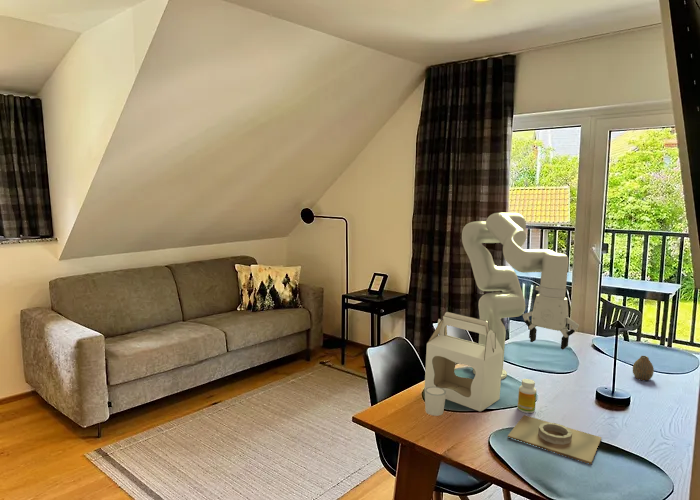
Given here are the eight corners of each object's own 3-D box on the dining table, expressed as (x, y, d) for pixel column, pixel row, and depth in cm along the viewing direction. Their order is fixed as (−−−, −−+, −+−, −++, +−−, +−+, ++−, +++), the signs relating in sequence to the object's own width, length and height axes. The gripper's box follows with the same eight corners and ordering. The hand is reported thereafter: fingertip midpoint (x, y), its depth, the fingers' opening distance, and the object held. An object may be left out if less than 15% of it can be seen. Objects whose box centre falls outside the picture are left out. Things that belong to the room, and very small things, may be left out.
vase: (633, 380, 188) (635, 358, 187) (630, 374, 194) (632, 352, 193) (654, 383, 185) (656, 361, 184) (650, 377, 192) (653, 355, 190)
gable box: (423, 391, 173) (427, 313, 169) (443, 380, 183) (448, 306, 179) (481, 412, 158) (487, 327, 154) (500, 399, 168) (506, 319, 164)
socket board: (507, 438, 143) (508, 429, 142) (523, 417, 156) (524, 408, 155) (591, 465, 130) (592, 455, 130) (601, 439, 143) (602, 430, 143)
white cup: (432, 418, 153) (433, 396, 152) (419, 409, 159) (420, 388, 158) (449, 414, 156) (451, 393, 155) (436, 405, 162) (437, 384, 161)
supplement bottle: (536, 414, 158) (538, 385, 156) (518, 412, 159) (520, 383, 157) (533, 406, 163) (535, 378, 162) (516, 405, 164) (518, 377, 163)
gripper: (520, 289, 159) (516, 341, 161) (577, 299, 147) (572, 354, 150) (529, 286, 164) (525, 336, 167) (585, 295, 153) (580, 348, 156)
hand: (547, 344), depth 158 cm, fingers open, 9 cm apart
